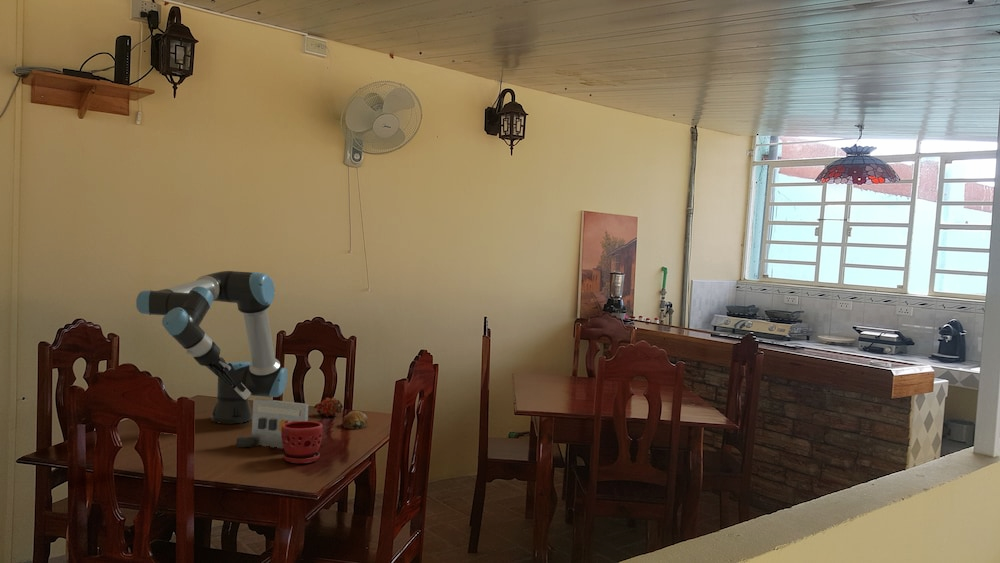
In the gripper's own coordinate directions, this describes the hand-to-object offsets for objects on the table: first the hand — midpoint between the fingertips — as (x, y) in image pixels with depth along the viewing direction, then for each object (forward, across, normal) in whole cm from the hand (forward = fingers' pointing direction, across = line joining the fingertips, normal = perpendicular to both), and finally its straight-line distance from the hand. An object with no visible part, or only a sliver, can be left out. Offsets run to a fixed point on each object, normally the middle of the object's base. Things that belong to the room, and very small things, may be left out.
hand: (247, 396), depth 237 cm
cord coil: (+20, -11, -9) cm, 24 cm away
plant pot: (+22, +15, -7) cm, 28 cm away
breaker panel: (+25, -2, -4) cm, 25 cm away
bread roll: (+54, -8, +25) cm, 60 cm away
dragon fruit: (+56, -30, +28) cm, 69 cm away
